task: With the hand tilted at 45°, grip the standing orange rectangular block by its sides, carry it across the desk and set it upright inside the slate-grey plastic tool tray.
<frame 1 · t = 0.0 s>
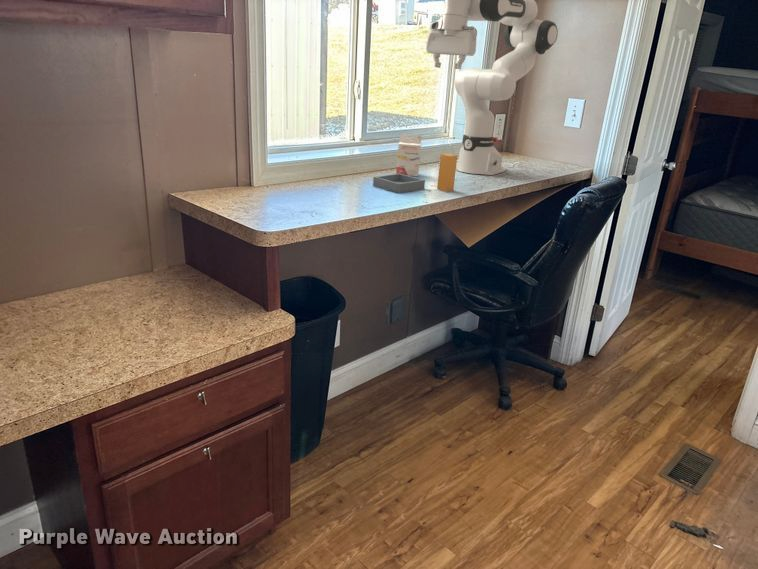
hand: (447, 68, 199), 39 cm above the table, tool pointing down, fingers open, 8 cm apart
tool tray: (398, 187, 194), on the table
orange rectangular block: (445, 189, 194), on the table
ink cartridge box: (407, 174, 215), on the table
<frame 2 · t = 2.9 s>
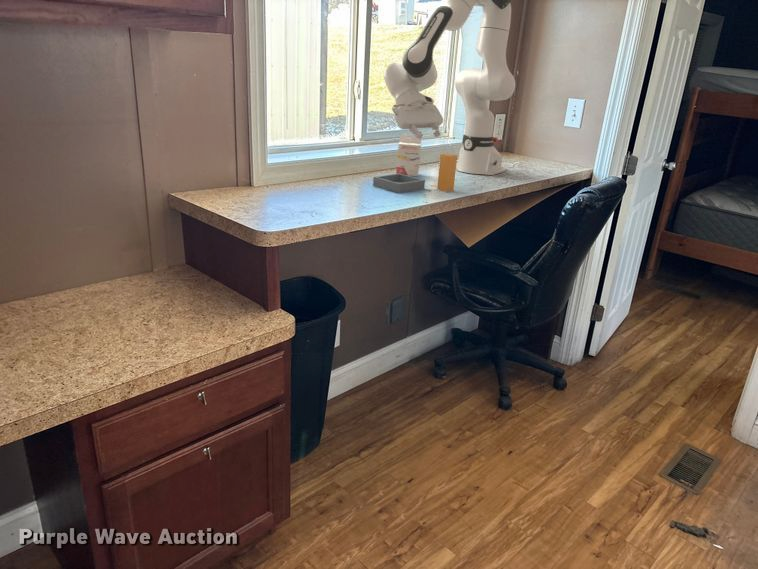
hand: (429, 136, 194), 17 cm above the table, tool tilted 45°, fingers open, 8 cm apart
nothing on the table moved.
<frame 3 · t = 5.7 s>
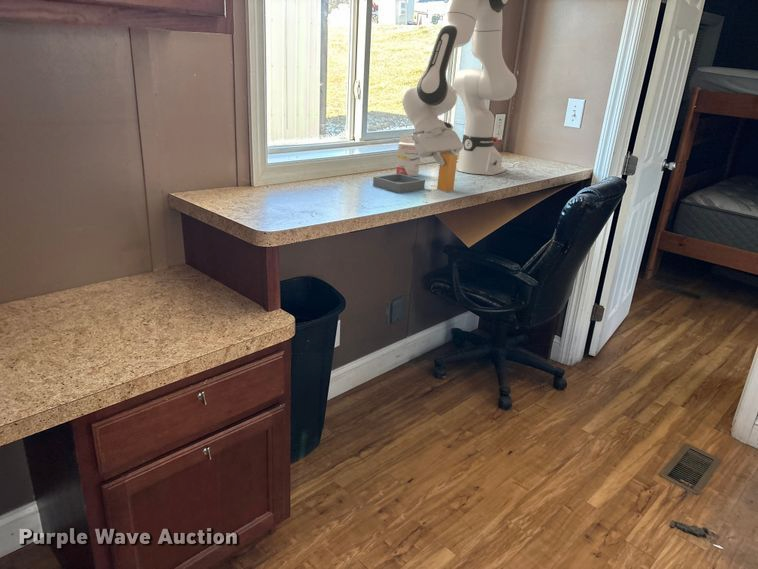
hand: (449, 164, 190), 9 cm above the table, tool tilted 45°, fingers closed on orange rectangular block, 4 cm apart
orange rectangular block: (445, 189, 194), on the table, touching gripper
everything else where it was.
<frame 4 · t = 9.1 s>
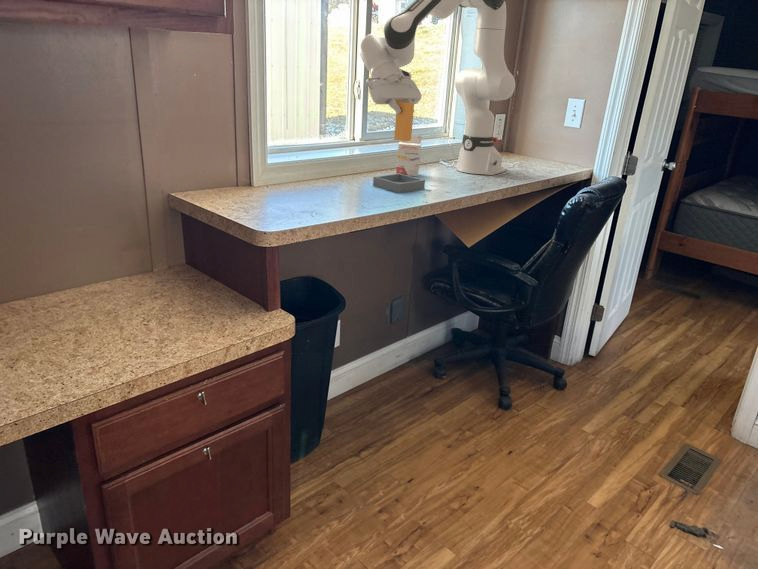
hand: (406, 112, 183), 25 cm above the table, tool tilted 45°, fingers closed on orange rectangular block, 4 cm apart
orange rectangular block: (402, 140, 187), point 16 cm above the table, touching gripper
everything else where it was.
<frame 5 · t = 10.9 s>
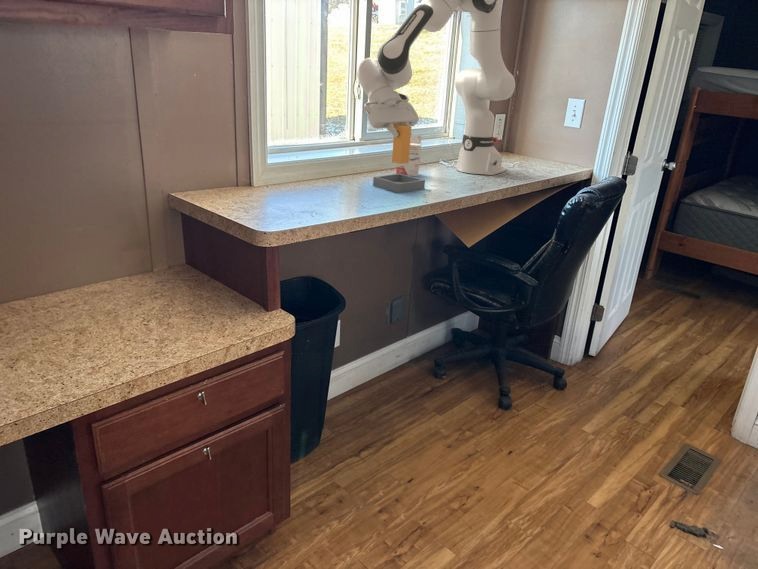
hand: (403, 136, 186), 17 cm above the table, tool tilted 45°, fingers closed on orange rectangular block, 4 cm apart
orange rectangular block: (400, 162, 190), point 9 cm above the table, touching gripper
everything else where it was.
when the fingers open (11 cm above the table, at t = 12.6 s): orange rectangular block drops 2 cm, resting on tool tray.
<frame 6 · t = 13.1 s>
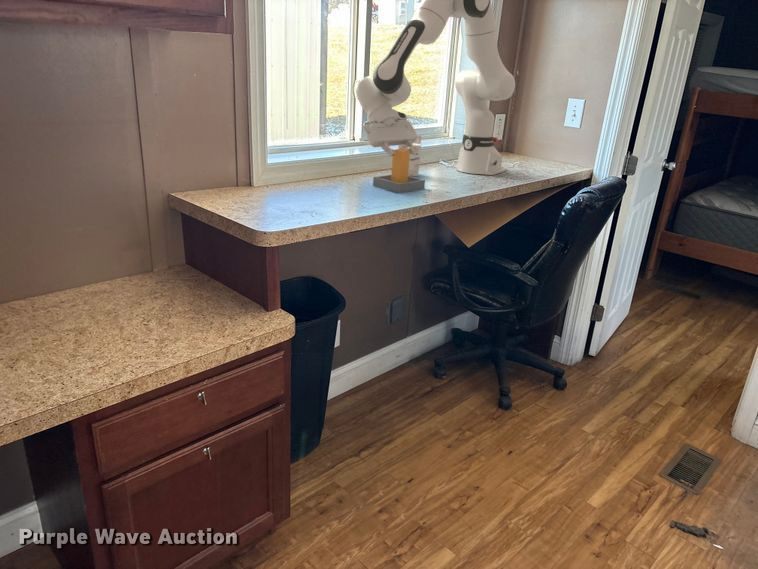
hand: (402, 154, 189), 11 cm above the table, tool tilted 45°, fingers open, 8 cm apart
orange rectangular block: (399, 185, 193), point 1 cm above the table, touching tool tray
everything else where it was.
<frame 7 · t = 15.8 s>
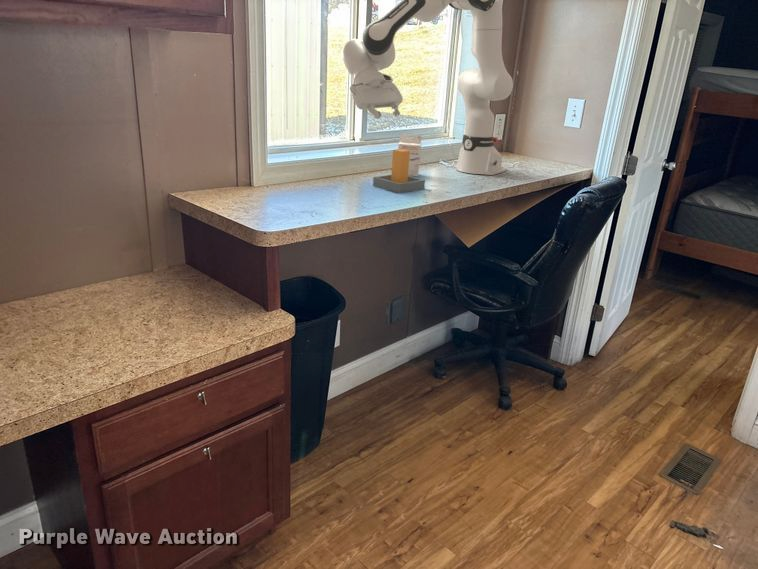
hand: (388, 116, 192), 23 cm above the table, tool tilted 45°, fingers open, 8 cm apart
nothing on the table moved.
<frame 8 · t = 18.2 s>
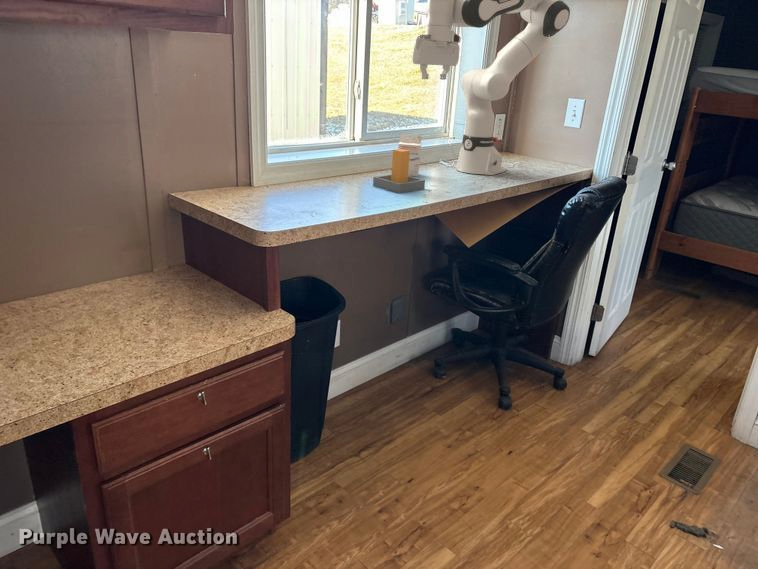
hand: (434, 79, 193), 35 cm above the table, tool pointing down, fingers open, 8 cm apart
nothing on the table moved.
at the end: orange rectangular block inside the target area on the tool tray (0.1 cm from its centre), point 0.6 cm above the tool tray's base; orange rectangular block tilted 0°; the gripper is holding nothing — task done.
